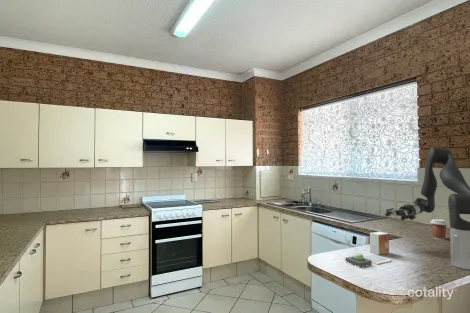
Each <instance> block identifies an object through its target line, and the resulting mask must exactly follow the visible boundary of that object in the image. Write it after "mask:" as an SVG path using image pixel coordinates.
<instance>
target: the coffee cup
mask: <svg viewBox="0 0 470 313" xmlns="http://www.w3.org/2000/svg"><path fill="white" fill-rule="evenodd" d="M429 223H430V224H431V232H432V233H431V234H432V239H435V240H439V241H445V240H446V232H447V226H448V225H449V224H448V222H446V220H445V219H440V218H433V219H431V220H430V221H429Z"/></svg>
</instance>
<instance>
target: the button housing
mask: <svg viewBox="0 0 470 313" xmlns="http://www.w3.org/2000/svg"><path fill="white" fill-rule="evenodd" d="M344 259H345V261H347V262H349V263H348V264H350V263H351V264H350V265H352V264H354V265H353V266H355V265H356V267H357V266H359V267H358V268H363V267H362V266H364V267H367V266H366V265H368V266H371V265H372V264H373V263H372V260H369V259H366V258H363V261H357V260H354V259H353V255H352V256H348V257H345V258H344ZM347 262H346V263H347Z"/></svg>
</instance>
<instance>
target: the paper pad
mask: <svg viewBox="0 0 470 313" xmlns="http://www.w3.org/2000/svg"><path fill="white" fill-rule="evenodd" d="M369 254H370V255H367V254H366V255H367V256H363V258H366V259H369V260H372V264H374V265H377V266H378V265H382V264H385V263H386V264H387V263H389V262H392V261H393V260H392V259H391V258H390V259H389V258H387V257H383V256H381V255H377V254H374V253H369Z"/></svg>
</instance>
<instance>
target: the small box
mask: <svg viewBox="0 0 470 313" xmlns="http://www.w3.org/2000/svg"><path fill="white" fill-rule="evenodd" d="M369 252H370V253H371V252H373V253H372V254H374V253H375V254H374V255H377V254H378V255H377V256H381V254H382V255H389V254H390V234H389V233H387V232H383V231H376V232H375V231H374V232H370V233H369ZM388 253H389V254H388Z"/></svg>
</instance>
